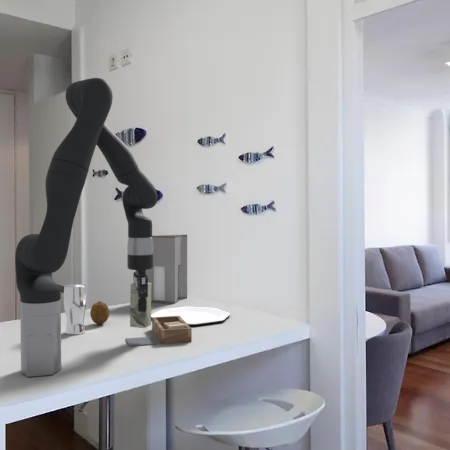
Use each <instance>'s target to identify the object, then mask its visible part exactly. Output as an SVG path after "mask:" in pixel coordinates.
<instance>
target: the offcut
mask: <svg viewBox="0 0 450 450" xmlns="http://www.w3.org/2000/svg"><path fill="white" fill-rule="evenodd" d="M177 328H185V324H183V323H181V322H179V321H178V322H169V323H164V329H177Z"/></svg>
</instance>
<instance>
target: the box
mask: <svg viewBox="0 0 450 450" xmlns="http://www.w3.org/2000/svg"><path fill="white" fill-rule="evenodd" d="M151 284H152V283H148V297H147V299H146V311H145V312H139V311H138V297H137V296H138V292H137V291H136V287H135V283H134V282H133V283H130V289H129V290H130V292H129V293H130V295H129V296H130V303H129V306H130V307H129V308H130V309H129V310H130V311H129V312H130V313H129V327H130V328H137V329H138V328H139V329H146V328H148V327H150V326H152V318H151V314H152V302H151ZM138 288H139V287H138ZM141 293H145V292H144V291H141Z"/></svg>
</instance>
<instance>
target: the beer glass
mask: <svg viewBox="0 0 450 450" xmlns="http://www.w3.org/2000/svg"><path fill="white" fill-rule="evenodd" d="M63 288H64V289H63V307H64V308H63V309H64V313H65V319H66V327H65V334H66V335H69V336H70V335H71V336H74V335H75V336H77V335H81V334H85V333H86V328H85V312H86V309H87V289H86V288H87V286H86V284H83V283H72V284H65V285H63Z"/></svg>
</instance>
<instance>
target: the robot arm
mask: <svg viewBox="0 0 450 450" xmlns="http://www.w3.org/2000/svg"><path fill="white" fill-rule="evenodd" d="M113 95H114V94H113V90H112V87H111V85H110V84H109V83H108V81H107V80H105V79H104V78H100V77H91V78H87V79H82V80H78V81H75V82H72V83H70V84H69V85H68V86H67V88H66V90H65V101H66V105H67V106H68V109H70V111H71V113H72V114H73V116H74V117H75V118H76V119H75V122H74V124H73V126H72V128H70V131H68V134H67V135H66V136H65V137H64V138H63V140H62V141H61V142H60V144H59V145H58V147H57V148H56V150H55V151H54V153H53V155H52V158H51V160H50V162H49V167H48V169H47V171H46V172H47V173H46V177H45V197H46V212H45V217H44V219H43V220H44V221H43V224H42V226H41V229H40V231H39V233H30V234H27V235H25V236H24V237H22V238H21V239H20V240H19V241H18V243H17V245H16V248H15V253H14V254H15V255H14V257H15V259H14V261H15V262H14V263H15V265H14V266H15V279H16V280H15V281H16V283H15V284H16V288H17V291H18V293H19V298H20V299H19V300H20V301H19V302H20V304H19V305H20V317H19V318H20V373H21V374H22V375H24V376H25V377H26V378H29V377H40V376H41V377H42V376H51V375H52V376H53V375H55V374H56V373H57V372H59V371H61V369H62V316H61V315H62V300H61V299H62V298H61V297H62V295H61V294H62V293H61V292H62V291H61V288H60V287H59V286H58V285H57V283H56V282H55V280H54V279H53V273H55V272H57V271H59V270H60V269H61V268H62V266H63V265H64V264H65V262H66V260H67V259H66V258H67V255H68V251H69V246H70V240H71V235H72V231H73V226H74V220H75V217H76V213H77V211H78V207H79V204H80V199H81V196H82V192H83V189H84V187H85V184H86V180H87V177H88V173H89V171H90V170H89V169H90V166H91V164H92V159H93V156H94V153H95V150H96V146H97V148H98V150H100V152H101V153H102V155H103V157H104V159H105V161H106V162H107V164H108V165H109V167H110V169H111V172H112V173H113V174H114V178H116V180H117V181H118V183H120V184H122V185H125V186H126V187H125V188H124V191H123V193H122V197H121V199H122V206H123V210H124V215H125V218H126V221H127V231H128V232H127V247H126V248H127V249H126V251H127V256H126V258H127V265H126V266H127V269H128V270H130V271H133V275H132V279H133V283H135V287H136V291H137V292H138V296H137V297H138V311H139V312H145V311H146V299H147V297H148V276H147V274H146V270H147V269H148V270H149V269H152V268H153V240H152V236H153V222H152V219H151V218H150V217H147V216H145V215H144V212H143V210H148V209H153V208H154V207H155V206H156V204H157V202H158V193H157V192H158V191H157V190H156V188H155V186H154V184H153V183H152V182H151V180H150V179H149V178H148V177H147V176H146V174H145V173H143V171H142V170H141V169H140V168H139V166H138V164H137V162H136V160H135V157H134V155H133V153H132V152H131V150H130V149H129V148H128V147H129V146H127V145H126V143H124V142H123V141H122V139H121V138H119V137H118V136H117V135H116V134H115V133H114V132H113V131H112V130H111V128H109V126H108V125H107V124H106V120H107V119H108V118H107V117H108V116H109V112H110V110H111V108H112V105H113V99H114V98H113ZM138 287H139V288H138ZM141 291H144V292H145V293H141Z"/></svg>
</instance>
